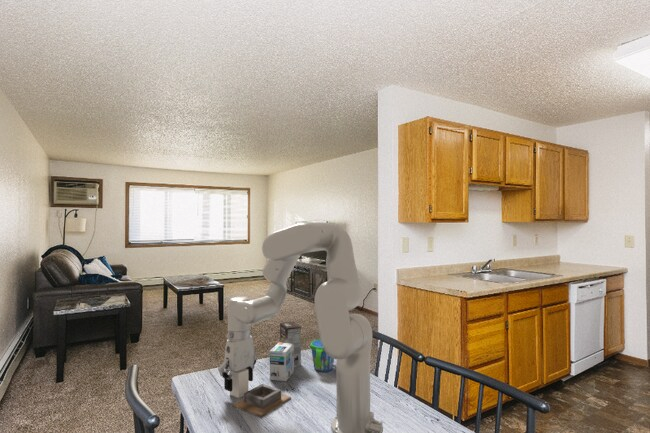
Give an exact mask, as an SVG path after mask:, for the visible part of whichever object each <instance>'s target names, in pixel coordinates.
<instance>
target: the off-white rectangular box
mask: <svg viewBox="0 0 650 433" xmlns="http://www.w3.org/2000/svg"><path fill="white" fill-rule="evenodd" d="M231 379H232V391H231V392H230V391H229V396H232V397H235V398H237V399H240V398H242V397H244V393H246V392H248V391H249V381H248V369H242V370H240V371H238V372H234V373H233V375H232V377H231Z"/></svg>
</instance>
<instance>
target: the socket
mask: <svg viewBox="0 0 650 433" xmlns="http://www.w3.org/2000/svg"><path fill="white" fill-rule="evenodd" d="M291 397H292V396H290V395H287V394H284V393H282V389H279V388H276V387H273V386H270V385H266V384H264V383H261V384H259V385H258V386H256V387H253V388H251V389H250V390H248V392H246V393H244V396H243V399H241V400H239V401H237V402H235V403H234V404H233V407H234V408H237V409H240V410H242V411H244V412H247V413H248V414H249V413H250V414H253V415H255V416H257V417H260V418H262V417H263V416H265V415H267V414H269V413H270V412H272V411H273V410H275V409H276V408H279V407H280V406H281V405H283V404H285V403H286V402H288V401H289V400H291V399H292V398H291Z"/></svg>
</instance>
